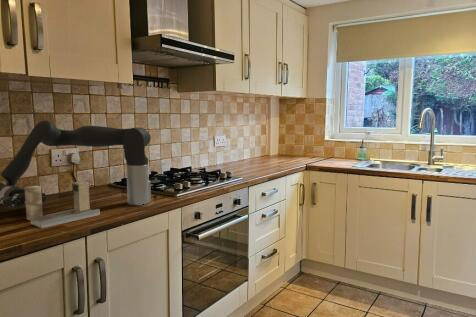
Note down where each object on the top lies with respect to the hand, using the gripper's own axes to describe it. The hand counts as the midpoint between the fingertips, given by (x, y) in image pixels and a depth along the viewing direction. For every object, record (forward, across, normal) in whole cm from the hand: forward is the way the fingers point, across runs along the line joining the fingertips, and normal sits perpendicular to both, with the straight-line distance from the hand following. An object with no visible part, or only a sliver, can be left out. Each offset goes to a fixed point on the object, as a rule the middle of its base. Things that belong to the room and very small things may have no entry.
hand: (32, 201), depth 138 cm
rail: (+11, +7, +6) cm, 15 cm away
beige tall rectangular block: (+1, 0, +6) cm, 7 cm away
